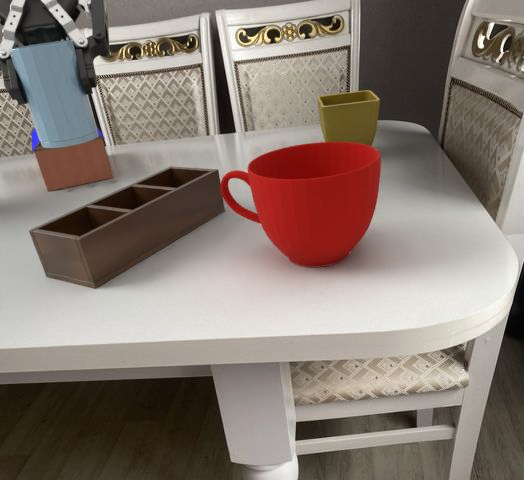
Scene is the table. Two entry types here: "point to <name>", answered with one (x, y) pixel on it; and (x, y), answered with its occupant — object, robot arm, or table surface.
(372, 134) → the flower pot
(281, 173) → the ceramic cup
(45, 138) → the blue cup
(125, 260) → the compartment box
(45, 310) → the table surface
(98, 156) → the house
